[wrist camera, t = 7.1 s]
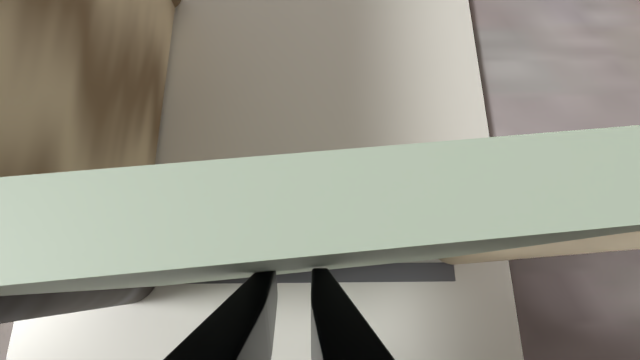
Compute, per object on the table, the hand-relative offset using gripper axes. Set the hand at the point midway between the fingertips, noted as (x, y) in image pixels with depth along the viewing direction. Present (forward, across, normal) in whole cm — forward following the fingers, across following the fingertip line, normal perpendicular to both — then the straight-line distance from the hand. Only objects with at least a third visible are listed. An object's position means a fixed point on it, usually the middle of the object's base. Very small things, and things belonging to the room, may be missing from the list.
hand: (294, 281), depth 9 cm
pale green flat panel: (+5, +1, -4) cm, 6 cm away
